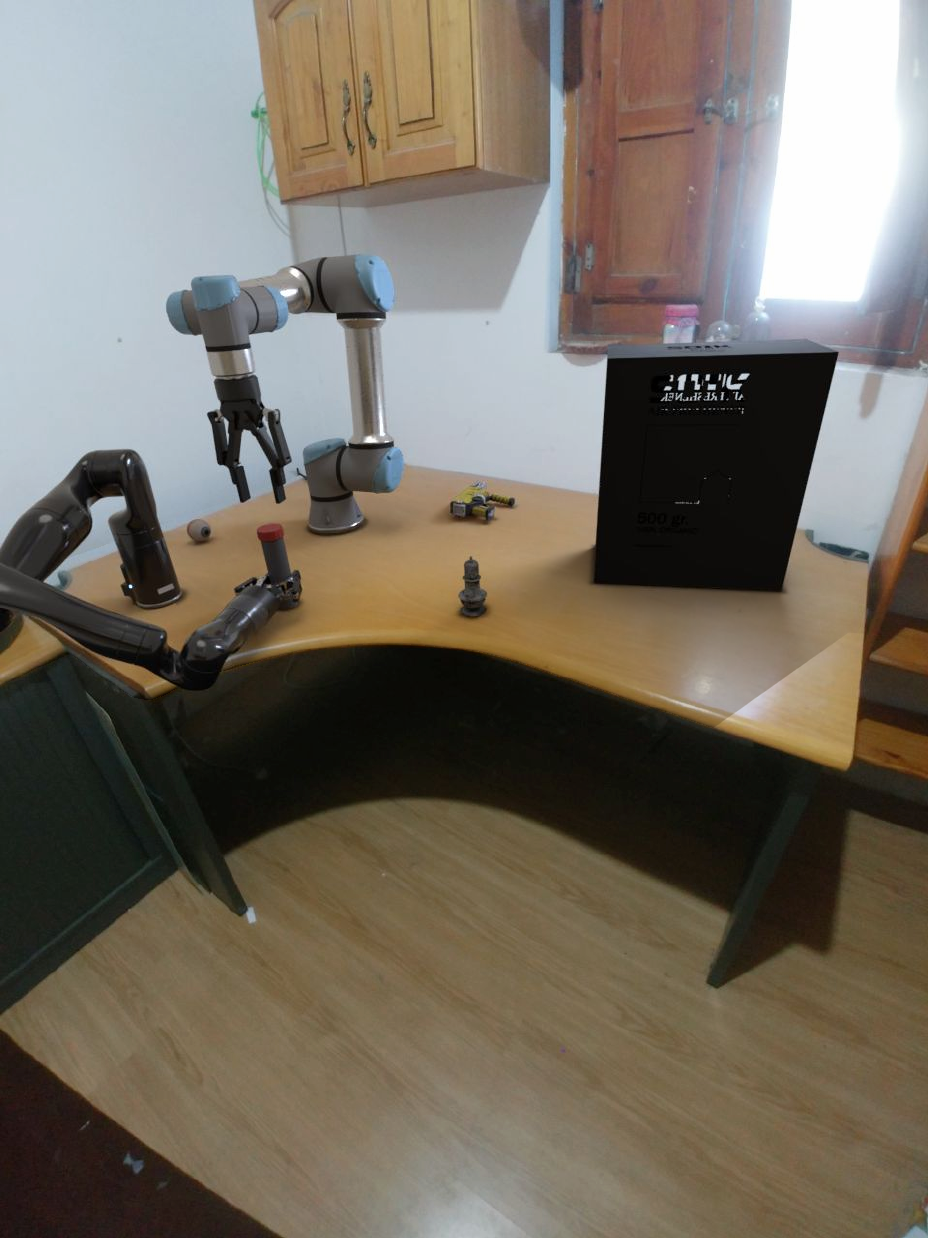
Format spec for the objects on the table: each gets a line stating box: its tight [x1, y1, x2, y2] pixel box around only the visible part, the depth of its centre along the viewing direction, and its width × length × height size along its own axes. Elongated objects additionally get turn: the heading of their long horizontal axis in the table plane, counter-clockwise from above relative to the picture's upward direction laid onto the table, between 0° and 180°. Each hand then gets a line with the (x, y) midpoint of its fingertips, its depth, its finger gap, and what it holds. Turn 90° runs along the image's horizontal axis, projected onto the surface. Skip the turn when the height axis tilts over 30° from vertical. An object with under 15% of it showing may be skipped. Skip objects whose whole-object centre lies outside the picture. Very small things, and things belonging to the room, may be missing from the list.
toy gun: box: [449, 480, 516, 522], centre depth 174 cm, size 5×24×15 cm
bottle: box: [259, 536, 298, 611], centre depth 125 cm, size 4×4×17 cm
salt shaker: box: [457, 555, 488, 617], centre depth 120 cm, size 6×6×12 cm
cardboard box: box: [593, 338, 840, 592], centre depth 124 cm, size 38×20×45 cm, turn 78°
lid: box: [256, 522, 285, 542], centre depth 121 cm, size 5×5×2 cm
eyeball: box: [186, 518, 212, 542], centre depth 162 cm, size 6×6×6 cm
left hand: (286, 573), depth 129 cm, fingers closed on bottle, 4 cm apart
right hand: (263, 500), depth 118 cm, fingers open, 7 cm apart
